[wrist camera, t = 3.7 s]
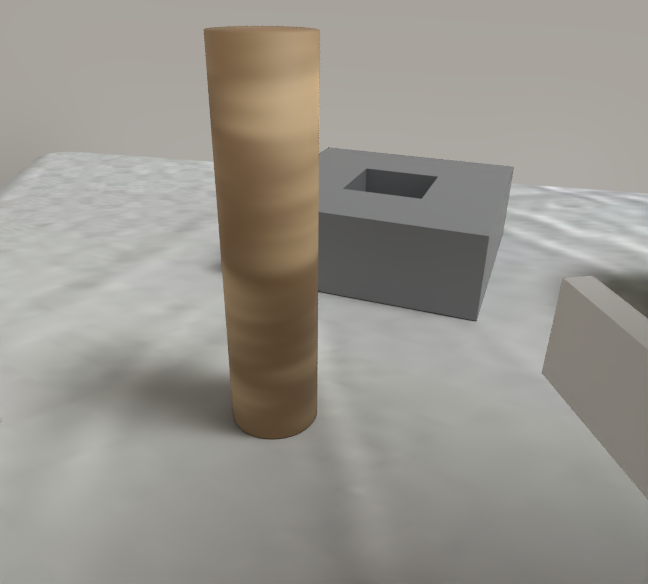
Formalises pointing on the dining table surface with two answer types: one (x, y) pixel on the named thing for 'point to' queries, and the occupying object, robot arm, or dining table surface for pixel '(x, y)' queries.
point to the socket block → (409, 229)
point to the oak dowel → (268, 218)
